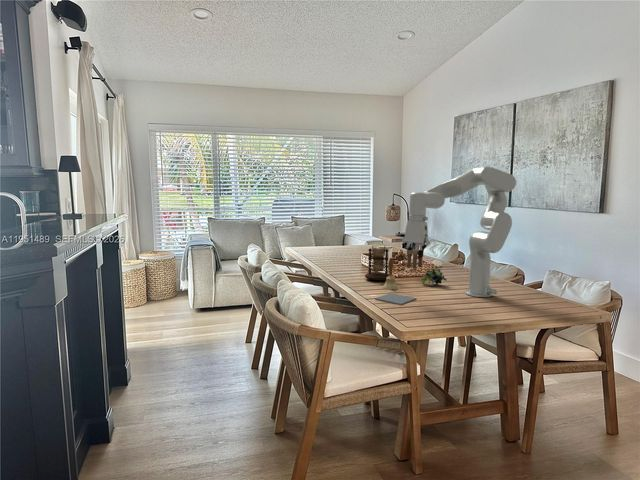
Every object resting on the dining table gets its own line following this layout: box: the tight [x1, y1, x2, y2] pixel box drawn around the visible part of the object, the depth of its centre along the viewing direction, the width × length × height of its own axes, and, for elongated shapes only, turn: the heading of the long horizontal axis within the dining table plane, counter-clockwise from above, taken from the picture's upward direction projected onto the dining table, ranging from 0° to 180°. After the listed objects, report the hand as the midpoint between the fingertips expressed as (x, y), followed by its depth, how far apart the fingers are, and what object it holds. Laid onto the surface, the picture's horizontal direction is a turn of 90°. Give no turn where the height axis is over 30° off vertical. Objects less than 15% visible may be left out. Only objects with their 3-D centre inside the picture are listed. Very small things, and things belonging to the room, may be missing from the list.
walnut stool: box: [406, 248, 425, 269], centre depth 197 cm, size 7×5×8 cm
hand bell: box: [382, 257, 399, 290], centre depth 220 cm, size 8×8×16 cm
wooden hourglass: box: [364, 245, 390, 282], centre depth 240 cm, size 15×15×20 cm
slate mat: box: [374, 292, 417, 306], centre depth 197 cm, size 14×14×1 cm
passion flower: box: [420, 267, 447, 287], centre depth 227 cm, size 11×11×12 cm
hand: (414, 257), depth 197 cm, fingers closed on walnut stool, 5 cm apart
